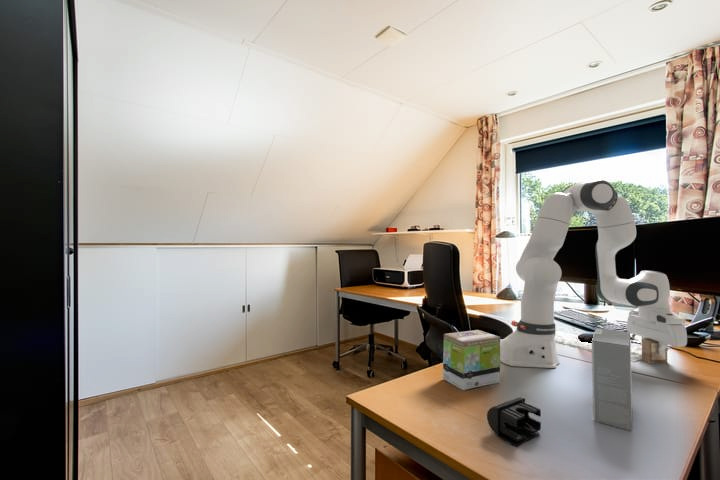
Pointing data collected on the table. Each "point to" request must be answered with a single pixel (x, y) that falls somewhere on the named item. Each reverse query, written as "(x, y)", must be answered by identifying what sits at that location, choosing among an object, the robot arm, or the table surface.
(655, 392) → the table surface
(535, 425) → the end cap
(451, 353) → the tea box
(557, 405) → the table surface
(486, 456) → the table surface
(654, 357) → the brown rectangular block
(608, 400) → the hard drive box
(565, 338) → the carpet tile
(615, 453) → the table surface
